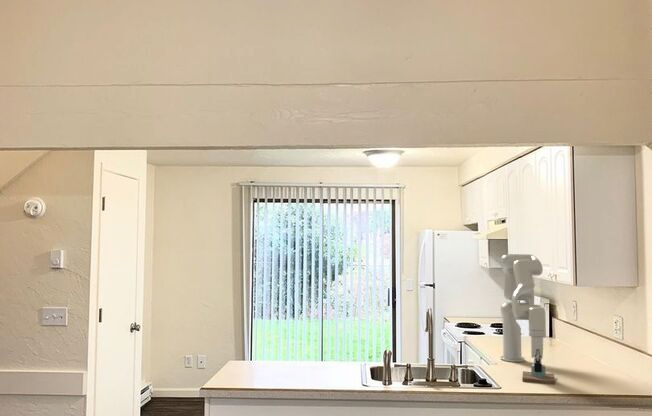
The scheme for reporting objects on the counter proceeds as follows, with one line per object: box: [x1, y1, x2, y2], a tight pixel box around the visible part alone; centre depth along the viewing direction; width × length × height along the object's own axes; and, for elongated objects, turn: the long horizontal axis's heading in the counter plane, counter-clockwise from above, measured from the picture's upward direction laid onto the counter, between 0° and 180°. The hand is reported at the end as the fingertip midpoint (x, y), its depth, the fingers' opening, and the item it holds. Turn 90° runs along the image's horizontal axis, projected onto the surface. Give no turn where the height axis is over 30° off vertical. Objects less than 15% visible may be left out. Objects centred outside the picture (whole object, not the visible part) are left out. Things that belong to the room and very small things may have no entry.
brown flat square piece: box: [521, 371, 556, 386], centre depth 242 cm, size 14×14×2 cm
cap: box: [530, 363, 546, 378], centre depth 242 cm, size 6×6×5 cm
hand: (538, 369), depth 242 cm, fingers open, 9 cm apart
